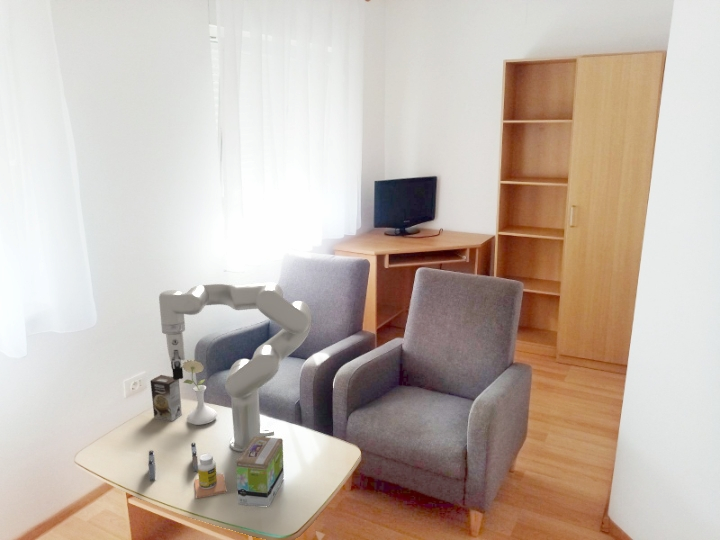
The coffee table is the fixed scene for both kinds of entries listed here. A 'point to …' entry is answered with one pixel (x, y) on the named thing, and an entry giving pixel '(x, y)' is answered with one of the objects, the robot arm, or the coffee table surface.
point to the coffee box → (166, 398)
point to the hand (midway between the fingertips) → (177, 373)
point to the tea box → (260, 471)
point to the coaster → (215, 490)
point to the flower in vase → (198, 397)
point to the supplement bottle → (207, 472)
